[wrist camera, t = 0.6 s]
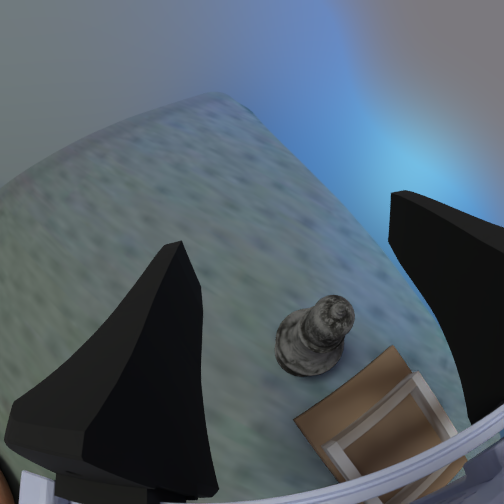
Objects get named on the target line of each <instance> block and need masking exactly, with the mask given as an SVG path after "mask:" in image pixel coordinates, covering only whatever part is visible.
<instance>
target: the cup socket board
mask: <svg viewBox="0 0 504 504" xmlns="http://www.w3.org/2000/svg"><path fill="white" fill-rule="evenodd" d="M293 420H294V422H295V423H296V425H297V426H298V428H299V429H300V430H301V432H302V433H303V435H304V436H305V437H306V439H307V440H308V442H309V443H310V444H311V446H312V447H313V449H314V450H315V451H316V453H317V454H318V455H319V457H320V458H321V459H322V461H323V462H324V463H325V465H326V466H327V467H328V469H329V470H330V471H331V473H332V474H333V475H334V477H335V478H336V479H337V481H338V482H339V483H343V482H346V481H350V480H353V479H356V478H359V477H362V476H365V475H368V474H371V473H374V472H377V471H380V470H382V469H385V468H387V467H390V466H392V465H395V464H397V463H400V462H402V461H405V460H407V459H409V458H411V457H414V456H416V455H418V454H420V453H422V452H424V451H426V450H428V449H430V448H432V447H434V446H436V445H438V444H440V443H442V442H444V441H446V440H448V439H450V438H451V437H453V436H455V435H457V434H458V432H457V430H456V429H455V427H454V425H453V424H452V422H451V421H450V419H449V417H448V416H447V414H446V412H445V411H444V409H443V408H442V406H441V405H440V403H439V401H438V400H437V398H436V397H435V395H434V394H433V392H432V390H431V389H430V387H429V386H428V384H427V383H426V381H425V380H424V378H423V377H422V375H421V374H420V372H419V371H417V372H414V373H412V372H411V370H410V369H409V367H408V366H407V364H406V363H405V361H404V360H403V359H402V357H401V356H400V354H399V353H398V351H397V350H396V349H395V347H394V346H393V345H392V346H390V347H388V348H387V349H386V350H385V351H384V352H383V353H382V354H380V355H379V356H378V357H377V358H376V359H374V360H373V361H372V362H371V363H370V364H368V365H367V366H366V367H365V368H364V369H362V370H361V371H360V372H359V373H357V374H356V375H355V376H354V377H352V378H351V379H350V380H348V381H347V382H346V383H344V384H343V385H342V386H340V387H339V388H338V389H336V390H335V391H334V392H332V393H331V394H330V395H328V396H327V397H325V398H324V399H323V400H321V401H320V402H318V403H317V404H315V405H314V406H312V407H311V408H310V409H308V410H307V411H305V412H304V413H302V414H300V415H299V416H297V417H296V418H294V419H293ZM466 462H467V459H466V457H465V455H464V456H462V457H460V458H459V459H457V460H455V461H454V462H452V463H450V464H448V465H446V466H445V467H443V468H441V469H439V470H437V471H435V472H433V473H431V474H429V475H427V476H425V477H423V478H421V479H419V480H417V481H415V482H412V483H410V484H408V485H406V486H403V487H401V488H398V489H396V490H394V491H391V492H388V493H386V494H383V495H381V496H378V497H375V498H372V499H369V500H366V501H363V502H360V503H357V504H408V503H410V502H413V501H415V500H417V499H420V498H422V497H424V496H426V495H428V494H430V493H432V492H435V491H437V490H439V489H441V488H443V487H444V486H446V485H447V484H448V483H449V482H450V481H451V480H452V478H453V477H454V476H455V475H456V474H457V473H458V472H459V471H460V469H461V468H462V467H463V465H464V463H466Z"/></svg>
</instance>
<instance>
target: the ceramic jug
mask: <svg viewBox="0 0 504 504" xmlns="http://www.w3.org/2000/svg"><path fill="white" fill-rule="evenodd" d="M0 504H15V502H14V499H13V495H12V493H11V490H10V488H9V485H8V483H7V481H6V479H5V477H4V475H3V473H2V471H1V469H0Z"/></svg>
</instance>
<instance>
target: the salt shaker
mask: <svg viewBox="0 0 504 504" xmlns="http://www.w3.org/2000/svg"><path fill="white" fill-rule="evenodd" d="M354 319H355V314H354V310H353V307H352V305H351V304H350V303H349V302H348V301H347V300H346V299H345V298H343V297H341V296H338V295H328V296H326V297H323V298H322V299H320V300H319V301H318V302H317V303H316V304H315V306H313V307H311V308H307V309H300V310H297V311H295V312H293V313H291V314H290V315H288V316H287V317H286V318H285V319H284V320H283V321H282V323H281V324H280V326H279V328H278V330H277V334H276V340H275V341H276V344H275V356H276V359H277V361H278V363H279V365H280V366H281V367H282V369H284V370H285V371H286V372H287V373H289V374H292V375H294V376H300V377H305V376H312V375H319V374H322V373H324V372H326V371H328V370H330V369H331V368H332V367H333V366H335V365H336V363H337V362H338V360H339V359H340V357H341V355H342V352H343V348H344V338H345V335H346V334H347V333H348V332H349V331H350V330H351V328H352V326H353V323H354Z"/></svg>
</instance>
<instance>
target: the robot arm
mask: <svg viewBox="0 0 504 504" xmlns="http://www.w3.org/2000/svg"><path fill="white" fill-rule="evenodd" d="M390 206H391V207H390V223H389V237H388V242H389V244H390V246H391V248H392V250H393V252H394V253H395V255H396V257H397V259H398V261H399V262H400V264H401V266H402V267H403V268H404V270H405V271H406V273H407V274H408V275H409V277H410V278H411V280H412V281H413V283H414V284H415V286H416V287H417V288H418V290H419V291H420V293H421V294H422V296H423V297H424V299H425V300H426V302H427V303H428V305H429V306H430V308H431V309H432V311H433V313H434V314H435V316H436V318H437V320H438V322H439V324H440V327H441V329H442V331H443V333H444V335H445V337H446V340H447V342H448V345H449V347H450V350H451V352H452V355H453V358H454V361H455V364H456V367H457V370H458V373H459V377H460V380H461V384H462V388H463V392H464V397H465V402H466V407H467V414H468V418H469V420H470V423H471V425H472V426H470V427H469V428H467V429H465V430H464V431H462V432H460V433H458V434H457V435H455V436H453V437H451V438H450V439H448V440H446V441H444V442H442V443H440V444H438V445H436V446H434V447H432V448H430V449H428V450H426V451H424V452H422V453H420V454H418V455H416V456H414V457H411V458H409V459H407V460H405V461H402V462H400V463H397V464H395V465H392V466H390V467H387V468H385V469H382V470H380V471H377V472H374V473H371V474H368V475H365V476H362V477H359V478H356V479H353V480H350V481H346V482H343V483H339V484H336V485H332V486H328V487H324V488H320V489H316V490H312V491H307V492H302V493H297V494H292V495H287V496H281V497H274V498H267V499H260V500H251V501H240V502H226V503H186V500H198V498H206V497H212V496H214V495H215V494H216V493H217V491H218V490H219V487H218V483H217V479H216V475H215V471H214V466H213V462H212V457H211V452H210V446H209V441H208V435H207V428H206V421H205V414H204V406H203V396H202V386H201V350H202V326H203V305H202V293H201V286H200V283H199V281H198V279H197V276H196V274H195V272H194V269H193V267H192V264H191V262H190V260H189V257H188V255H187V252H186V250H185V248H184V245H183V243H182V241H178V242H174V243H170V244H166V245H164V246H163V247H162V248H161V250H160V251H159V252H158V253H157V255H156V256H155V257H154V259H153V260H152V261H151V263H150V264H149V266H148V267H147V268H146V270H145V271H144V272H143V274H142V275H141V277H140V278H139V279H138V281H137V282H136V283H135V285H134V286H133V287H132V289H131V290H130V291H129V292H128V294H127V295H126V296H125V298H124V299H123V300H122V302H121V303H120V304H119V305H118V307H117V308H116V309H115V310H114V312H113V313H112V314H111V315H110V316H109V318H108V319H107V320H106V321H105V322H104V323H103V324H102V326H101V327H100V328H99V329H98V330H97V331H96V332H95V333H94V334H93V335H92V336H91V337H90V338H89V339H88V340H87V341H86V342H85V343H84V344H83V345H82V346H81V347H80V348H79V349H78V350H77V351H76V352H75V353H74V354H73V355H72V356H71V357H70V358H69V359H68V360H67V361H66V362H65V363H63V364H62V365H61V366H60V367H59V368H58V369H57V370H55V371H54V372H53V373H52V374H51V375H49V376H48V377H47V378H46V379H44V380H43V381H42V382H41V383H39V384H38V385H37V386H35V387H34V388H32V389H31V390H30V391H28V392H27V393H25V394H24V395H23V396H21V397H20V398H18V399H17V400H15V401H14V403H13V405H12V408H11V412H10V416H9V420H8V424H7V428H6V432H5V437H4V441H5V443H6V445H7V446H8V447H9V448H10V449H11V450H13V451H14V452H16V453H17V454H19V455H21V456H23V457H24V458H26V459H28V460H30V461H32V462H34V463H36V464H38V465H40V466H42V467H44V468H46V469H48V470H50V471H52V472H55V473H56V481H54V480H52V479H49V478H46V477H43V476H40V475H37V474H34V473H31V472H28V471H26V470H23V471H22V475H21V484H20V494H19V504H357V503H360V502H363V501H366V500H369V499H372V498H375V497H378V496H381V495H383V494H386V493H388V492H391V491H394V490H396V489H398V488H401V487H403V486H406V485H408V484H410V483H412V482H415V481H417V480H419V479H421V478H423V477H425V476H427V475H429V474H431V473H433V472H435V471H437V470H439V469H441V468H443V467H445V466H446V465H448V464H450V463H452V462H454V461H455V460H457V459H459V458H460V457H462V456H464V455H465V454H467V453H469V452H470V451H472V450H473V449H475V448H476V447H478V446H480V445H481V444H483V443H484V442H485V441H487V440H488V439H490V438H491V437H493V436H494V435H495V434H497V433H498V432H500V431H501V430H502V429H503V428H504V228H503V227H500V226H498V225H495V224H492V223H489V222H487V221H484V220H482V219H479V218H477V217H474V216H472V215H469V214H467V213H464V212H462V211H460V210H457V209H455V208H452V207H450V206H448V205H445V204H443V203H441V202H438V201H436V200H433V199H431V198H428V197H426V196H423V195H420V194H417V193H414V192H411V191H406V190H404V191H399V192H393V193H391V205H390ZM463 468H464V470H465V473H466V475H464V476H463V477H461V478H459V479H457V480H456V481H454V482H452V483H450V484H448V485H446V486H444V487H443V488H441V489H439V490H437V491H435V492H432V493H430V494H428V495H426V496H424V497H422V498H420V499H417V500H415V501H413V502H410V503H408V504H504V437H503V438H501V439H500V440H499V441H497V442H496V443H494V444H493V445H491V446H490V447H488V448H486V449H485V450H483V451H482V452H480V453H479V454H477V455H476V456H475V457H473V458H472V459H470V460H469V461H467V462H466V463H464V465H463Z"/></svg>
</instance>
